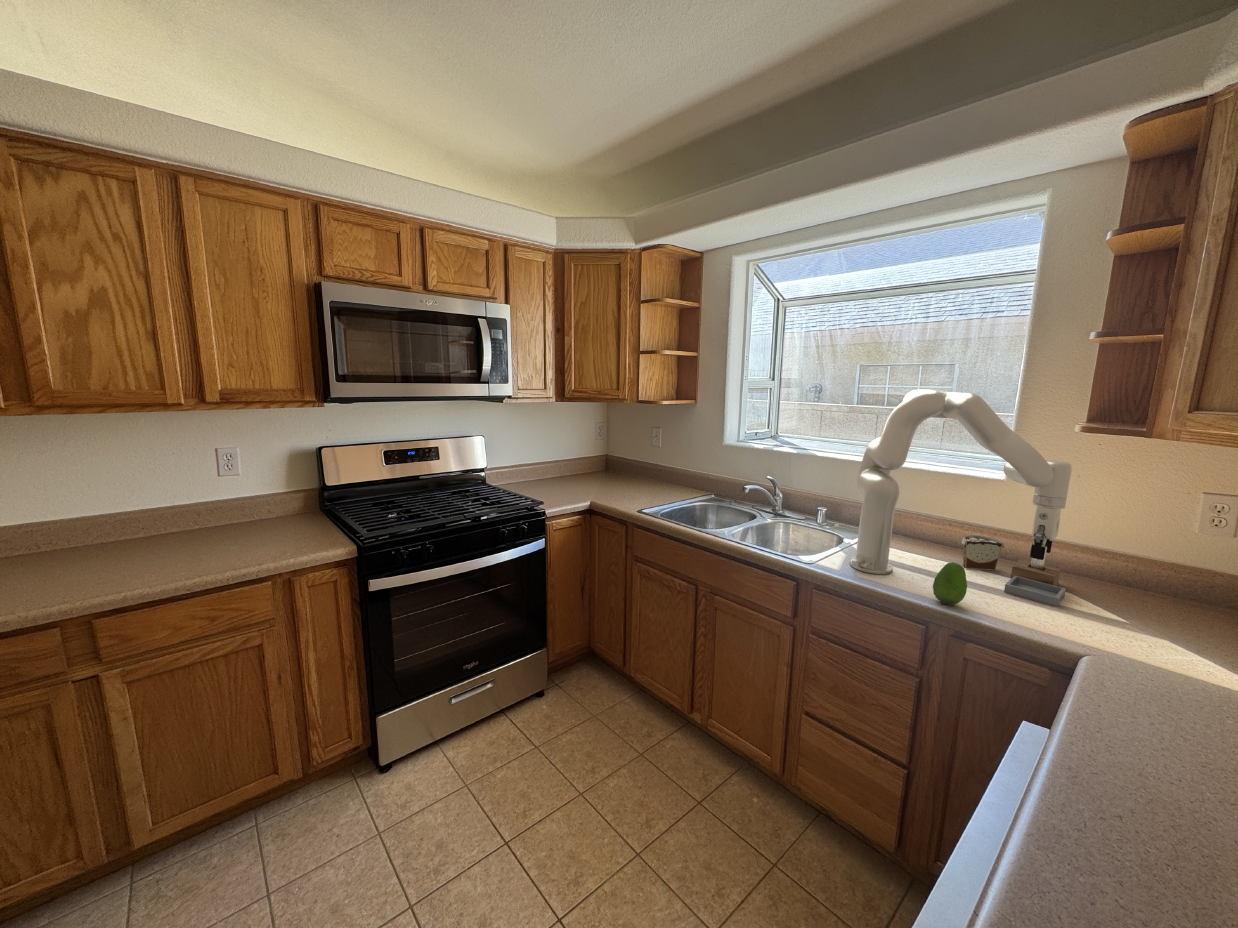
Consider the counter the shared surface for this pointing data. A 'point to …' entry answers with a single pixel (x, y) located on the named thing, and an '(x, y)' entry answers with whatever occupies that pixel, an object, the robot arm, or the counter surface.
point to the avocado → (950, 584)
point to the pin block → (1036, 572)
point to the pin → (1038, 562)
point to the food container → (981, 552)
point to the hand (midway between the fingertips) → (1040, 555)
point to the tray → (1035, 590)
